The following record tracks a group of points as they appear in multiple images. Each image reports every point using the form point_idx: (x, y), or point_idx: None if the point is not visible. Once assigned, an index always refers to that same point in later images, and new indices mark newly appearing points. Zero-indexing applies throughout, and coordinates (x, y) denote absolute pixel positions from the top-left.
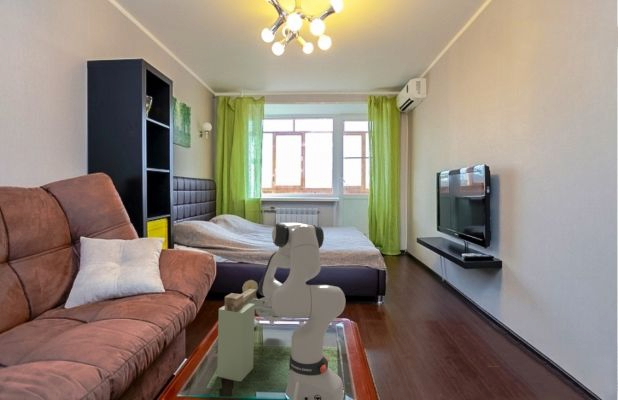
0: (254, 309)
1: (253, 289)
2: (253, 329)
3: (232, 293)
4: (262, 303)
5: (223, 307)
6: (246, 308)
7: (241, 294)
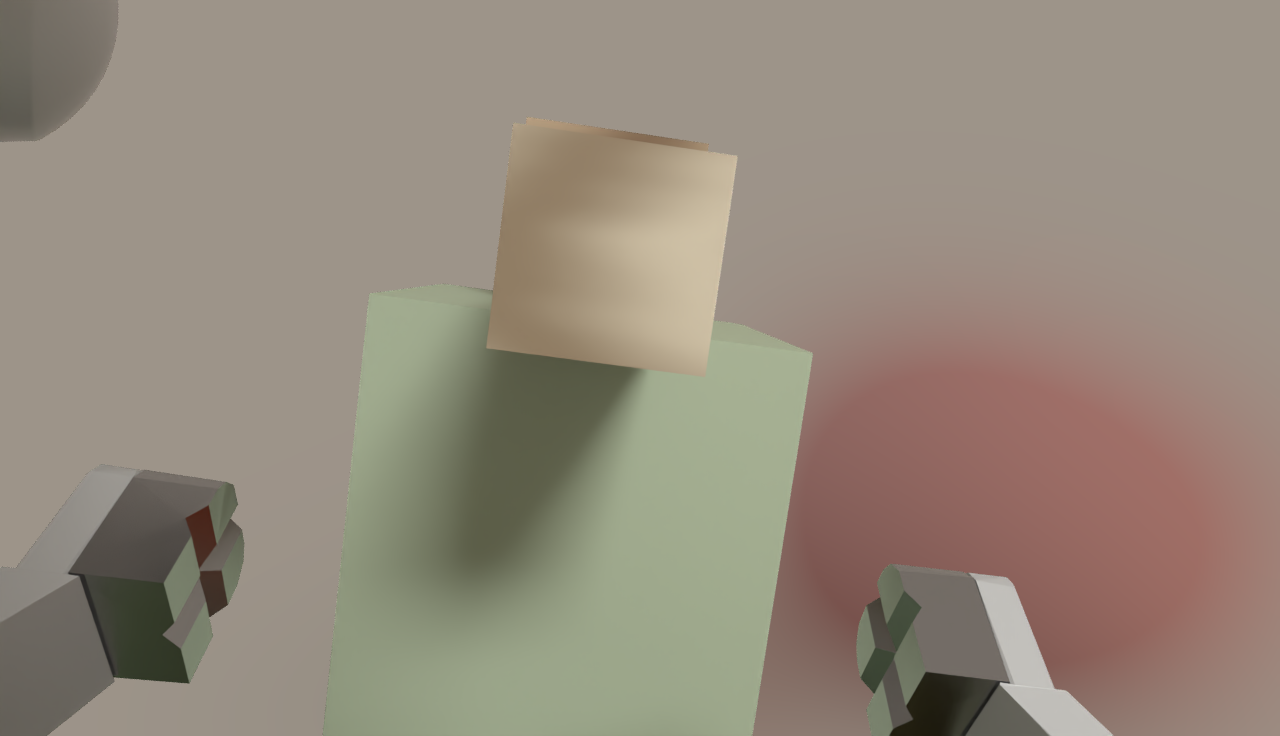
0: (361, 387)
1: (599, 138)
2: (331, 712)
3: (686, 143)
4: (239, 549)
5: (728, 325)
6: (444, 291)
7: (554, 121)
